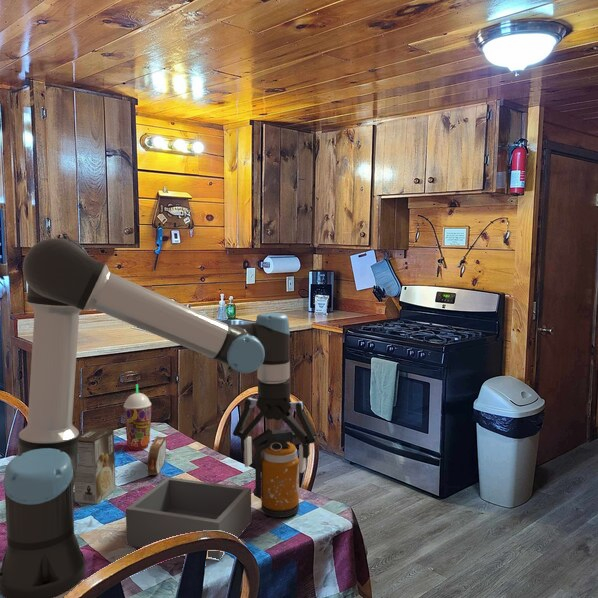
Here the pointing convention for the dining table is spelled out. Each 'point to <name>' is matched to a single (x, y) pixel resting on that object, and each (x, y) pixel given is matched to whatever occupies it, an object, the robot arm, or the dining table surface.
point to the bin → (187, 511)
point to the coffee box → (95, 466)
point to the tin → (156, 456)
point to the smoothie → (137, 420)
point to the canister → (277, 473)
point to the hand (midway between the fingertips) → (275, 467)
